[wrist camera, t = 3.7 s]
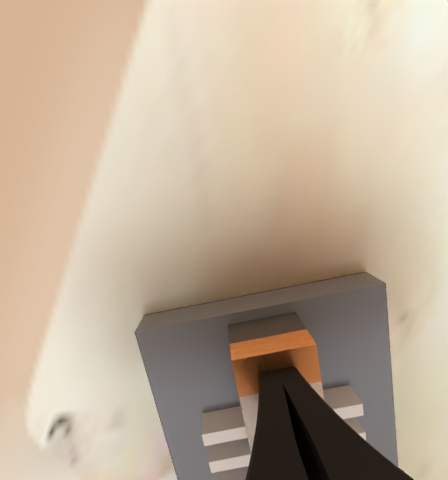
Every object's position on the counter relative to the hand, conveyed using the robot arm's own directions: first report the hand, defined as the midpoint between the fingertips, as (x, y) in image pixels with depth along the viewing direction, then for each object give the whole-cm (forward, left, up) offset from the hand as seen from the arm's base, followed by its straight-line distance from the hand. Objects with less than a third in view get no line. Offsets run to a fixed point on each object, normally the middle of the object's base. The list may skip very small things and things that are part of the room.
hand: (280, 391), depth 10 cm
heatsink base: (-4, 0, -4) cm, 6 cm away
